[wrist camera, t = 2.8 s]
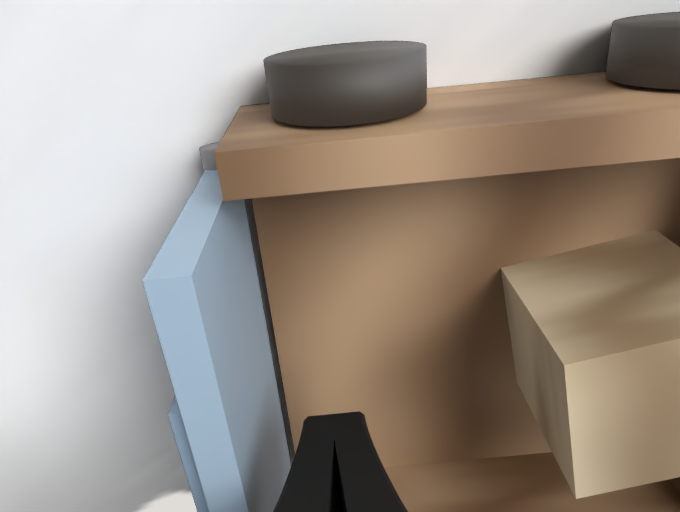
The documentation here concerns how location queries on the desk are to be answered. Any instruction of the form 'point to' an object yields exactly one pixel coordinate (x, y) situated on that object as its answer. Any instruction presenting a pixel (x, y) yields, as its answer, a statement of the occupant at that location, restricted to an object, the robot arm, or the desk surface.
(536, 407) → the block
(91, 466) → the desk surface
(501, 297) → the truck bed
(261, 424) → the panel
